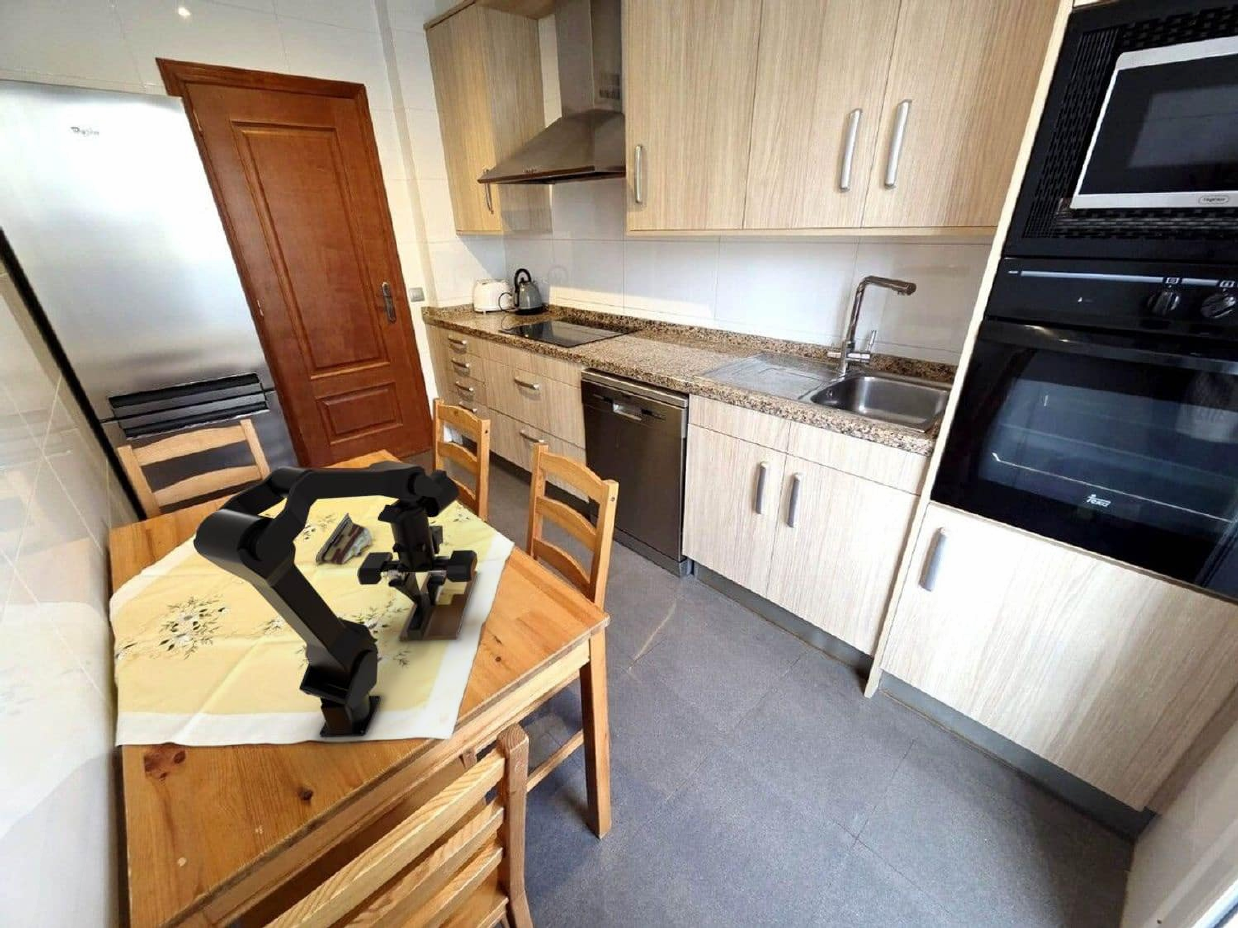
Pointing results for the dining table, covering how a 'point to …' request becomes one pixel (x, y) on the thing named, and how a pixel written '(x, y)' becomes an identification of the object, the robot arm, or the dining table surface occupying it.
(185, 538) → the dining table surface
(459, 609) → the board
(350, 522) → the chocolate cake
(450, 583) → the butter slab
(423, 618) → the knife
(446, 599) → the butter block
